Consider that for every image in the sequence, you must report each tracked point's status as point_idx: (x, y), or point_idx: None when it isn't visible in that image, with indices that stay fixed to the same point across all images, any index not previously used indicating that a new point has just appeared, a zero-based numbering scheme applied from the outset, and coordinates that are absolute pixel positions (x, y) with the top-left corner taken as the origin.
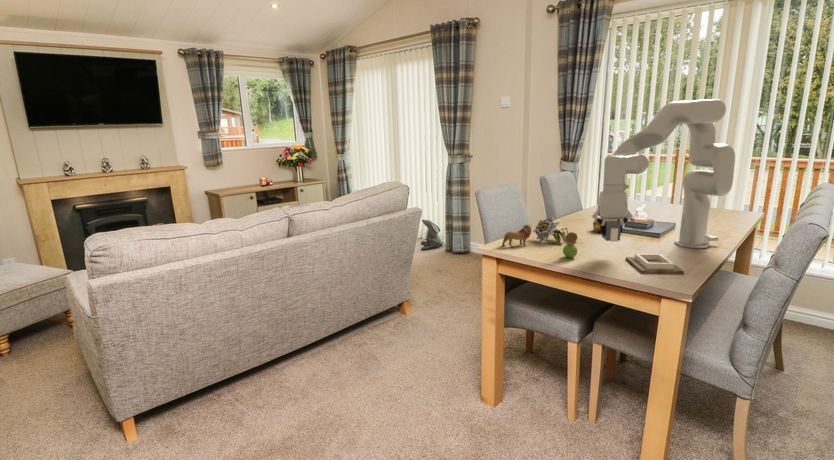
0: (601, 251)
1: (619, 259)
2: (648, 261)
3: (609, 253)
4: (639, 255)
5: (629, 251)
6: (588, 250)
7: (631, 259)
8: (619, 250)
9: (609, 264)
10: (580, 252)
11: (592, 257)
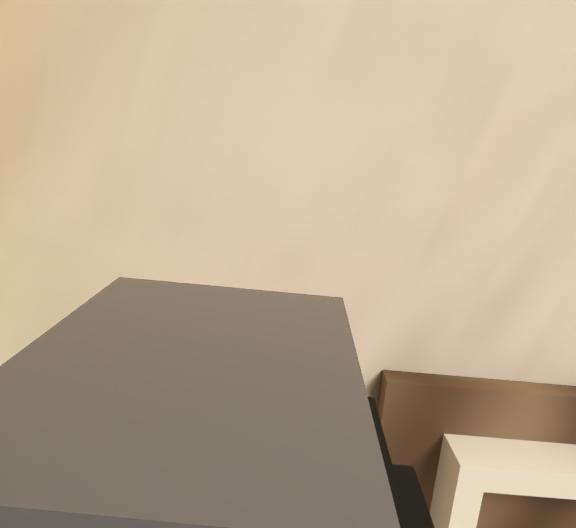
0: (255, 65)
1: None
2: (523, 512)
3: (314, 153)
4: (470, 523)
5: (572, 86)
6: (117, 11)
7: (402, 453)
8: (480, 35)
9: None
10: (5, 92)
11: (90, 283)
